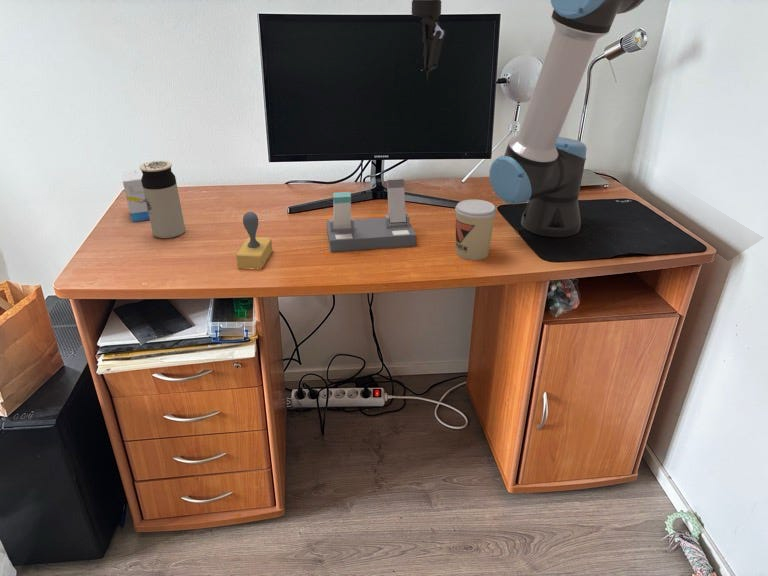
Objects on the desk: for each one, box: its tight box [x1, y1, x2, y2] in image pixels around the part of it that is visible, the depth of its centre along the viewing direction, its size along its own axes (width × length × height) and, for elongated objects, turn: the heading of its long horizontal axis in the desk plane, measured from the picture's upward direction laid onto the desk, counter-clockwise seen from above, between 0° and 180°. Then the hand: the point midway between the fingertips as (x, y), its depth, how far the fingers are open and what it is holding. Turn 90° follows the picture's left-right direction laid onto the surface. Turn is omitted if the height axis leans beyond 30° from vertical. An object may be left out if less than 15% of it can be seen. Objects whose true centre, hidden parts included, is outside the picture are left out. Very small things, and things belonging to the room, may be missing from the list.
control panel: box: [326, 213, 417, 253], centre depth 141 cm, size 12×21×6 cm, turn 99°
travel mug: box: [139, 160, 186, 239], centre depth 142 cm, size 8×8×18 cm
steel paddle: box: [386, 178, 407, 224], centre depth 141 cm, size 2×4×11 cm, turn 99°
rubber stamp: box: [235, 211, 273, 270], centre depth 130 cm, size 10×6×12 cm, turn 176°
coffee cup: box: [454, 199, 497, 261], centre depth 133 cm, size 9×9×12 cm
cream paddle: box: [332, 191, 352, 228], centre depth 136 cm, size 2×4×11 cm, turn 100°
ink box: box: [122, 169, 150, 223], centre depth 154 cm, size 8×8×12 cm
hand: (423, 95), depth 154 cm, fingers closed
